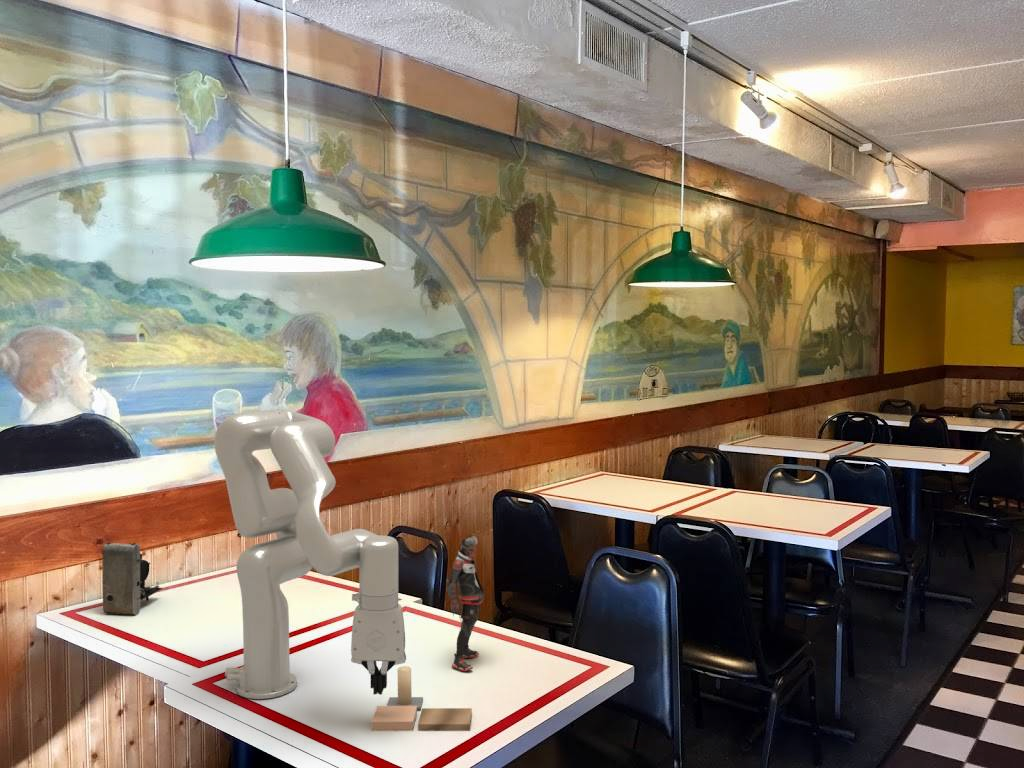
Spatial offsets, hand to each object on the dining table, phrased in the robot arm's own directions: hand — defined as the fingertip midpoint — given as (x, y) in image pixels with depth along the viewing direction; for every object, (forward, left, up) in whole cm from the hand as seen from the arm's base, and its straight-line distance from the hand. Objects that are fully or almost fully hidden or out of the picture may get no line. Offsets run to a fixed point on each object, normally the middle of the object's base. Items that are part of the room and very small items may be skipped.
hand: (378, 691), depth 165 cm
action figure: (+15, +30, -6) cm, 34 cm away
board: (+13, 0, -6) cm, 14 cm away
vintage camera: (-81, +71, -6) cm, 108 cm away
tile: (-1, 0, -5) cm, 5 cm away
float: (+4, +7, -6) cm, 10 cm away
